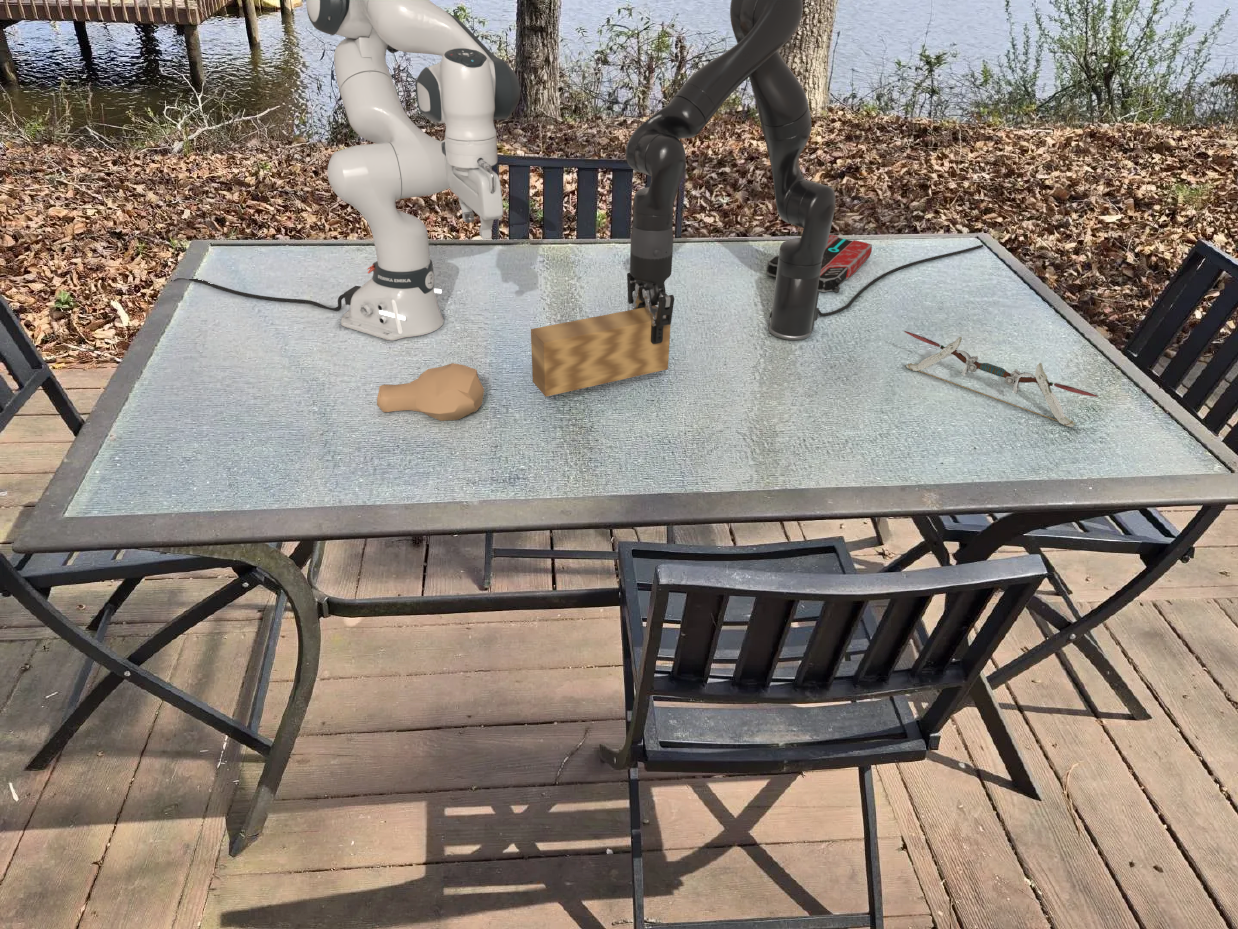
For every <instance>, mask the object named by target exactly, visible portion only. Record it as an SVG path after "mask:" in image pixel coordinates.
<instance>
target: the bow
mask: <svg viewBox="0 0 1238 929" xmlns="http://www.w3.org/2000/svg"><path fill="white" fill-rule="evenodd" d="M903 332H904V333H905V334H907V335H909V336H911V337H912V338H914V339H916V340H919V341H922V342H924V343H926V344H929V345H931V346H934V347H937V348H940V350H941V351H939V352H935V353H934V354H932V355H930V356H927V357H925V358H924V359H923V360H921V361H920V362H919V363H912V362H910V363H907V364H905V367H906V369H909V370H910V371H913V372H920V373H922V374H926V375H928V376H931V377H933V378H936V379H939V380H942V381H944V382H948V383H950V384H953V385H956V386H958V387H961V388H964V389H966V390H969V391H972V392H975V393H978V394H981V395H983V396H986V397H988V398H989V397H990V398H992V399H995V400H997V401H1000V402H1003V403H1005V404H1008V405H1011V406H1014V407H1017V408H1019V409H1022V410H1025V411H1028V412H1030V413H1033V414H1035V415H1039V416H1042V417H1045V418H1047V419H1050V420H1053V421H1056V422H1058V423H1059V424H1061V425H1062V426H1065V427H1069V428H1073V427H1074V426H1075V425H1076V424H1077V423H1076V422H1074V420H1071V419H1070V418H1069V417H1067V416H1066V415H1065V413H1064V410H1063V407H1062V405H1061V403H1060V401H1059V399H1058V397H1057V396H1056V394H1055V393H1054V392H1053V391H1052V388H1051V387H1053V386H1054V387H1056V388H1058V389H1061V390H1064V391H1067V392H1071V393H1075V394H1077V395H1083V396H1089V397H1095V398H1098V397H1099V395H1098V394H1094V393H1091V392H1089V391H1086V390H1083V389H1079V388H1078V387H1077V388H1076V387H1074V386H1069V385H1066V384H1063V383H1058V382H1055V383H1054V382H1052V381H1049V379H1048V378H1049V376H1048V375H1047V374H1046V372H1045V371H1044V367H1043V363H1042V362H1038V364H1037V366H1036V368H1035V372H1034V374H1032V373H1030V372H1027V371H1025V372H1021V371H1019V370H1018V369H1017V368H1015V369H1014V370H1013V371H1012V372H1009V371H1007V370H1006V369H1005V368H1003V367H1000V366H998V365H994V364H992V363H989V362H979V361H978V360H979V356H978V355H973V356H971V355H970V353H968V352H967V351H966V350H961V349H959V350H957V349H958V348H959V347H960V346H961V343H962V339H963V337H962V336H959V337H957V339H955V340H954V341H953V342H951V343H948V344H947V345H946V346H944V345H942V344H940V343H938V342H936V341H934V340H931V339H929V338H926V337H924V336H921V335H919V334H917V333H912V332H909V331H906V330H904V331H903ZM951 356H954V357H955V358H957V359H958V360H959V361H960V362H962V363H963V364H964V368H963V369H962V370H961V371H962V372H961V373H960V375H962V376H964V377H965V376H966V375H968V372H970V373H975V372H977V370H979V371H982V372H985V373H989V374H990V375H994V376H996V377H1000V378H1004V382H1005V384H1006V385H1007V386H1012V393H1013V394H1017V393H1019V391H1020V383H1021V384H1022V383H1023V384H1027V383H1029V384H1031V383H1035V385H1036V386H1037V387H1038V388H1039V390H1040V392H1041V394H1042V395H1043V397H1044V399H1045V400H1046V404H1047V405H1048V407H1049V409H1050V411H1051V414H1052V415H1053V416H1054V417H1055V418H1053V417H1051V416H1047V415H1044V414H1041V413H1039V412H1036V411H1034V410H1031V409H1027V408H1025V407H1022V406H1019V405H1017V404H1014V403H1012V402H1008V401H1005V400H1002V399H1001V398H996V397H994V396H992V395H989V394H986V393H983V392H980V391H977V390H975V389H972V388H970V387H967V386H963V385H961V384H958V383H956V382H952V381H951V380H947V379H944V378H941V377H938V376H936V375H934V374H931V373H928V372H925V371H922V370H924V369H929V368H930V367H932V366H933V365H935V364H936V363H938V362H940V361H942V360H945V359H947V358H949V357H951Z"/></svg>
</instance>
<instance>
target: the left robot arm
mask: <svg viewBox="0 0 1238 929" xmlns="http://www.w3.org/2000/svg"><path fill="white" fill-rule="evenodd" d="M305 2H306V4H305V5H306V12H307V16H308V19H309V21H310V23H311V25H312V26H313V27H314V28H315V29H316V30H317V31H320V32H322V33H323V34H327V35H330V36H335V35H336V36H339V37H343V38H344V39H342V40H341V41H340V42H339V43H338V44H337V45H336V46H335V50H334V53H333V61H334V62H333V63H334V73H335V78H336V83H337V87H338V91H339V94H340V97H341V100H342V101H341V102H342V104H343V107H344V110H345V113H346V117H347V120H348V122H349V125H350V128H352V130H353V131H354V132H355V133H356V134H357V135H358V136H359V137H360V138H362V139H364V140H366V141H368V142H371V143H367V144H358V145H353V146H349V147H346V148H343V149H340V150H337V151H334V152H333V153H332V155H331V157H330V158H329V161H328V164H327V170H326V171H327V179H328V180H327V181H328V183H329V186H330V188H331V189H332V192H334V194H335V195H336V196H337V197H338V198H339V199H340V200H342V201H343V202H345V203H347V204H348V205H350V206H351V207H353V208H354V209H355V210H357V211H358V212H359V213H360V214H361V216H362V217H363V218H364V220H365V221H366V222H367V224H368V226H369V228H370V231H371V235H372V240H373V243H374V248H375V253H376V254H375V255H376V261H374V262H373V263H372V265H371V266H369V267H368V268H367V274H370V273H372V277H371V278H370V279H369V280H367V282H365V283H364V284H363V285H362V286H361V285H354V286H352V287H351V288H350V289H348V290H346V291H344V292H343V294H341V295H339V297H337V306H336V307H329V306H327V305H324V304H322V303H320V302H317V301H314V300H309V299H301V298H300V299H299V298H286V297H276V296H268V295H260V294H254V293H248V292H244V291H239V290H235V289H232V288H228V287H225V286H221V285H218V284H216V283H213V284H210V283H211V282H210V283H208V282H209V281H208V280H204V279H201V280H198V279H199V278H196V279H189V280H188V281H191V282H194V283H199V284H203V285H206V286H210V287H211V288H214V289H217V290H219V291H223V292H226V293H229V294H234V295H237V296H242V297H247V298H252V299H257V300H264V301H272V302H280V303H292V304H293V303H294V304H305V305H312V306H315V307H318V308H320V309H325V310H329V311H333V312H338V311H340V310H341V309H342V308H343V307H342V303H343V302H342V301H343V299H344V303H345V305H348V306H349V310H347V311H346V313H344V314H343V316H342V317H341V320H340V324H341V326H342V327H344V328H347V329H350V330H354V331H357V332H360V333H364V334H367V335H370V336H373V337H377V338H380V339H383V340H387V341H396V340H397V341H398V340H401V339H404V338H412V337H420V336H423V335H427V334H430V333H431V334H432V333H434V332H436V331H437V330H439V329H441V327H442V326H443V325H444V323H445V320H444V317H443V314H442V312H441V310H440V307H439V303H438V300H437V296H436V294H442V292H443V291H442V289H441V288H435V271H434V264H433V260H432V259H431V253H430V243H429V232H428V229H427V226H426V225H425V223H424V222H423V221H422V220H421V219H420V218H419V217H417V216H415V215H414V214H413V215H412V214H410V213H408V212H404V211H402V210H399V209H397V205H396V202H397V201H399V200H402V199H403V200H404V199H411V198H419V197H428V196H432V195H435V194H439V193H442V192H444V191H448V190H450V192H452V193H453V194H454V195H455V196H456V197H457V198H458V204H459V206H460V207H459V208H460V209H461V216H462V221H463V222H465V223H466V224H470V223H474V222H475V214H476V215H478V216H479V221H480V227H478V231H479V236H480V237H481V238H482V239H483V240H489V239H491V238H492V233H493V232H492V229H493V225H494V221H495V220H500V219H502V217H503V214H504V204H503V203H504V202H503V195H502V194H503V192H502V185H501V180H500V177H499V175H498V174H497V172H495V171H494V170H493V166H495V165H497V163H499V162H498V160H499V157H498V140H497V130H496V127H495V123H494V121H498V120H507V119H508V118H509V117H510V116H511V115H512V113H513V112H514V111H515V110H516V109H517V107H518V104H519V102H520V99H521V85H520V81H519V78H518V76H517V74H516V72H515V71H514V69H513V68H512V67H511V66H510V65H509V64H508V63H507V62H506V61H504V59H502V58H500V57H498V56H496V55H495V54H493V52H492V51H491V50H490V49H489V48H488V47H487V46H485V44H483V42H482V41H481V40H480V38H478V37H477V36H476V35H475V34H474V32H472V31H471V30H470V29H469V27H467V25H466V24H464V22H462V21H461V20H460V19H459V18H458V17H457V16H454V15H453V14H452V13H450V12H448V11H446V10H444V9H443V8H441V7H439V6H438V5H436V3H433V2H432V1H431V0H305ZM387 52H389V53H391V54H395V53H398V52H402V53H409V54H424V55H425V54H426V55H435V56H439V57H441V61H439V62H438V63H434V64H433V65H429V66H425V67H424V68H423V69H422V70H421V71H420V73H419V75H418V76H417V78H416V80H415V85H414V86H415V97H416V104H417V109H418V111H419V112H420V113H421V114H422V115H423V116H424V117H425V118H426V119H428V120H429V121H430V122H431V123H437V124H445V132H444V138H445V139H443V140H439V139H436V138H434V137H432V136H431V135H429V134H427V133H426V132H424V131H423V130H422V129H420V127H418V126H417V125H416V124H415V123H414V122H413V121H412V120H411V119H410V117H409V116H408V115H407V113H406V111H405V109H404V107H403V105H402V102H401V100H400V98H399V95H398V93H397V89H396V86H395V83H394V80H393V78H392V75H391V73H390V70H389V68H388V63H387V57H386V56H387ZM202 280H203V281H202Z"/></svg>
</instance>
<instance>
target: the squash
mask: <svg viewBox="0 0 1238 929" xmlns="http://www.w3.org/2000/svg"><path fill="white" fill-rule="evenodd" d="M484 394H485V388H484V386H483V384H482V382H481V381H480V378H479V373H478V370H477V369H476V368H473V367H470V366H467V365H464V364H459V363H455V362H452V363H449V364H446V365H442V366H439V367H432V368H431V367H430V368H428V369H426V370H424V371H423V372H422V373H421V374H420V375H419V376H418V378H416V379H414V380H412V381H410V382H407V383H399V384H382V385H379V387H378V393H377V397H376V406H377V407H378V408H379V409H380V410H381V411H382V413H389V412H400V411H414V412H419V413H422V414H425V415H426V416H428V417H430V418H433V419H435V420H437V421H440V422H446V421H458V420H459V421H460V420H461V419H463V418H465V417H467V416H469V415H471V414H473V413H475V412H477V411H478V410H479V409H480V408H481V406H482V405H483V400H484Z"/></svg>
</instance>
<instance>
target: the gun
mask: <svg viewBox="0 0 1238 929" xmlns="http://www.w3.org/2000/svg"><path fill="white" fill-rule="evenodd" d="M872 252H873V244H871V243H868V242H864V241H861V240H855V239H853V240H851V239H845V238H842V237H840V236H839V235H837V234H831V233H830V235H829V240H828V244H827V247H826V249H825V252H824V254H823V259H822V265H821V272H820V278H819V285H818V291H819V292H822V293H826V292H834V293H840V289H841V287H840V286H842V284H843V283H844V282H845V281H847V280H849V279H850V278H851V277H852V276H853V275H855V274H856V273H857V272H858V271H859V270H860V269H861V267H862V266H863V265H864V264H865V263H866V262H867V261H868V260H869V258H870V256H871V254H872ZM778 259H779V254H777V255H775V256H774V257H773V258H770V260H768V261H767V265H766V274H765V275H768V276H770V277H772V278H773V277H774V278H776V274H777V266H778Z"/></svg>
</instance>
